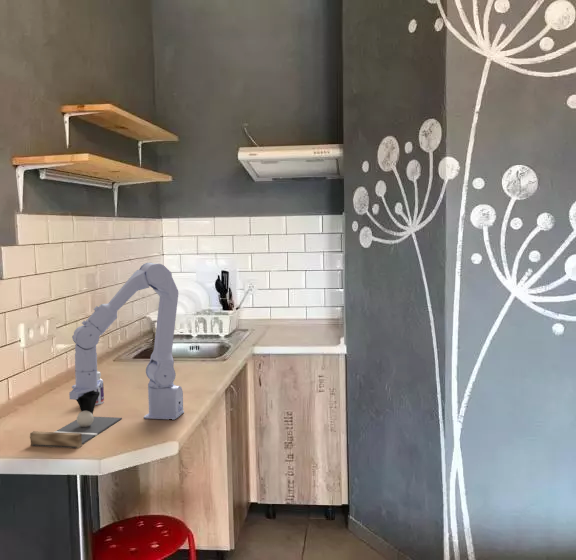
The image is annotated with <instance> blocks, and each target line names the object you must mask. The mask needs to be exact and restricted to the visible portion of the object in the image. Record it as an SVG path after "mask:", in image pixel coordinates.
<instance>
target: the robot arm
mask: <svg viewBox="0 0 576 560" xmlns="http://www.w3.org/2000/svg"><path fill="white" fill-rule="evenodd" d="M150 288H152V290H153V291H154V292H155V293H156V294H157V295H158V296H159V301H158V310H157V318H156V327H155V328H156V329H155V334H154V335H155V337H154V344H153V351H152V353H151V354H150V360H149V362H148V363H147V365H146V368H145V376H146V377H147V378H148V380H149V381H148V384H147V390H148V391H147V393H148V394H147V396H148V397H147V399H148V400H147V401H148V413H146V414H145V415H144V416H143V419H148V420H149V419H150V420H152V419H153V420H169V419H172V420H173V421H174V420H176V419H178V418H179V417H180V416H181V415H182V414H184V413H185V410H184V391H183V388H182V386H180V385H176V384H175V383H174V382H175V380H176V370H175V367H174V365H175V364H174V363H175V361H174V358H173V343H174V337H175V336H174V334H175V326H176V318H177V308H178V301H179V289H178V287H177V284H176V283H175V280H174V279H173V274H172V271H170V270H169V269H168V268H167V266H165V265H164V264H162V263H153V262H145V263H142V265H141V266H140V267H139V269H137V270H135V271H134V272H133V274H131V276H130V277H129V278H128V280H126V282H125V283H124V284H123V286H121V288H120V289H118V291H117V292H116V293H115V294H114V296H113V297H112V298H111V300H110V301H108V303H102V304H100V305H99V306H97V305H96V306H94V308H93V310H94V311H93V312H92V314H91V315H90V316H89V317H88V318H87V319H86V320H83V321H82V322H81V324H82V325H80V326H77V327H76V328H75V330H74V331H73V335H72V337H71V338H72V340H73V343H74V344H75V346H74V352H75V353H74V371H75V372H74V373H75V375H74V376H75V384H73V385H72V386H71V389H72V390H70V391H69V394H68V395H69V396H68V397H69V400H75V401H76V402H77V404H78V406H79V408H80V412H82V411H90V412H91V413H92V414H93V413H94V411H95V406H96V405H95V403H96V401H97V399H98V397H99V395H100V392H96V391H94V390H96V389H98V388H101V387H104V380H103V379H102V380H97V371H98V353H97V345H98V343H99V341H100V337H101V336H102V335H103V334H104V333H105V332H106V331H107V330H108V329H109V328H110V326H111V325H112V324H113V323H114V322H115V321H116V320H117V319H118V311H119V310H120V309H121V308H122V307H123V306H124V305H126V303H127V302H128V301H129V300H130V299H131V298H132V297H134V295H135V294H136V293H137V292H138V291H141V290H145V289H150ZM93 415H94V414H93Z"/></svg>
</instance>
